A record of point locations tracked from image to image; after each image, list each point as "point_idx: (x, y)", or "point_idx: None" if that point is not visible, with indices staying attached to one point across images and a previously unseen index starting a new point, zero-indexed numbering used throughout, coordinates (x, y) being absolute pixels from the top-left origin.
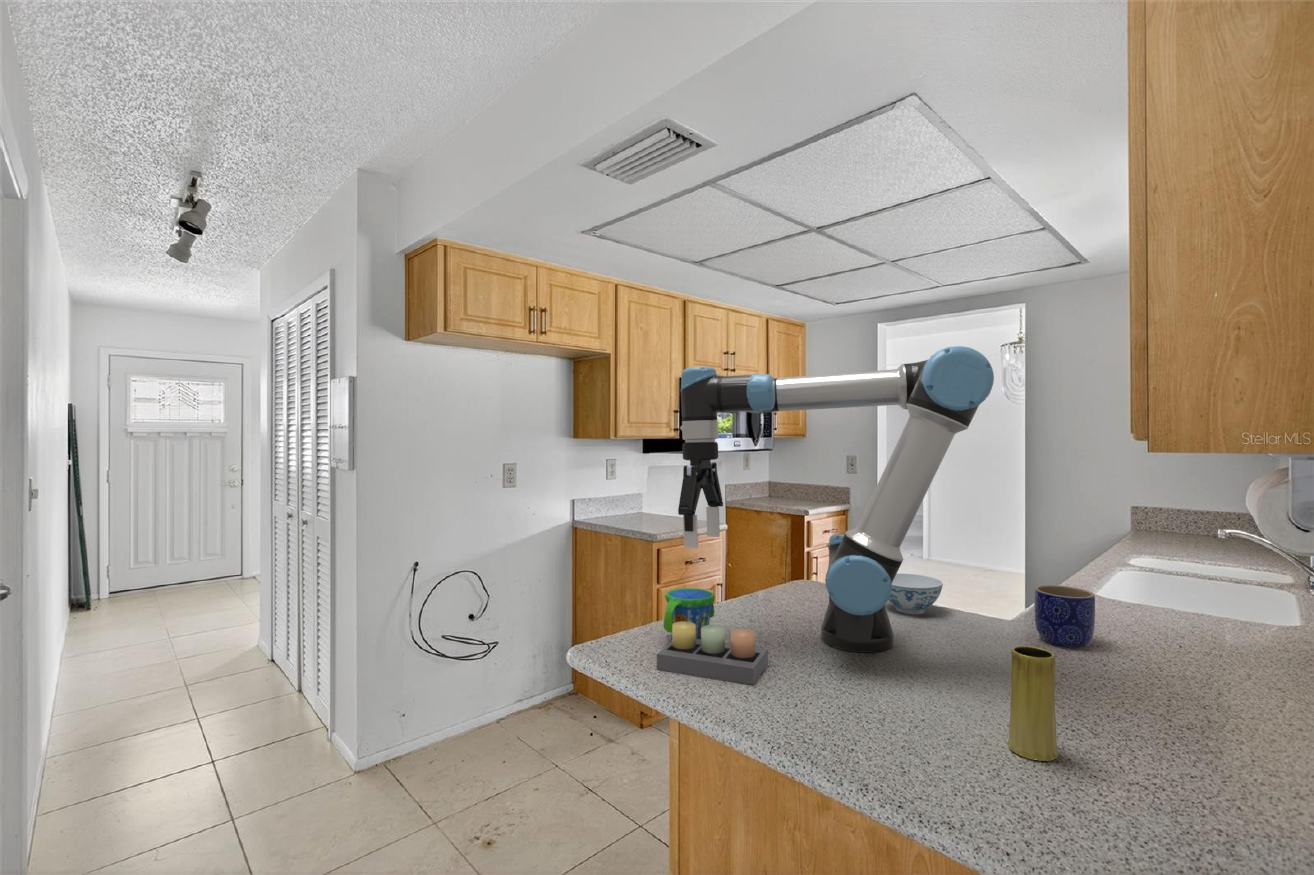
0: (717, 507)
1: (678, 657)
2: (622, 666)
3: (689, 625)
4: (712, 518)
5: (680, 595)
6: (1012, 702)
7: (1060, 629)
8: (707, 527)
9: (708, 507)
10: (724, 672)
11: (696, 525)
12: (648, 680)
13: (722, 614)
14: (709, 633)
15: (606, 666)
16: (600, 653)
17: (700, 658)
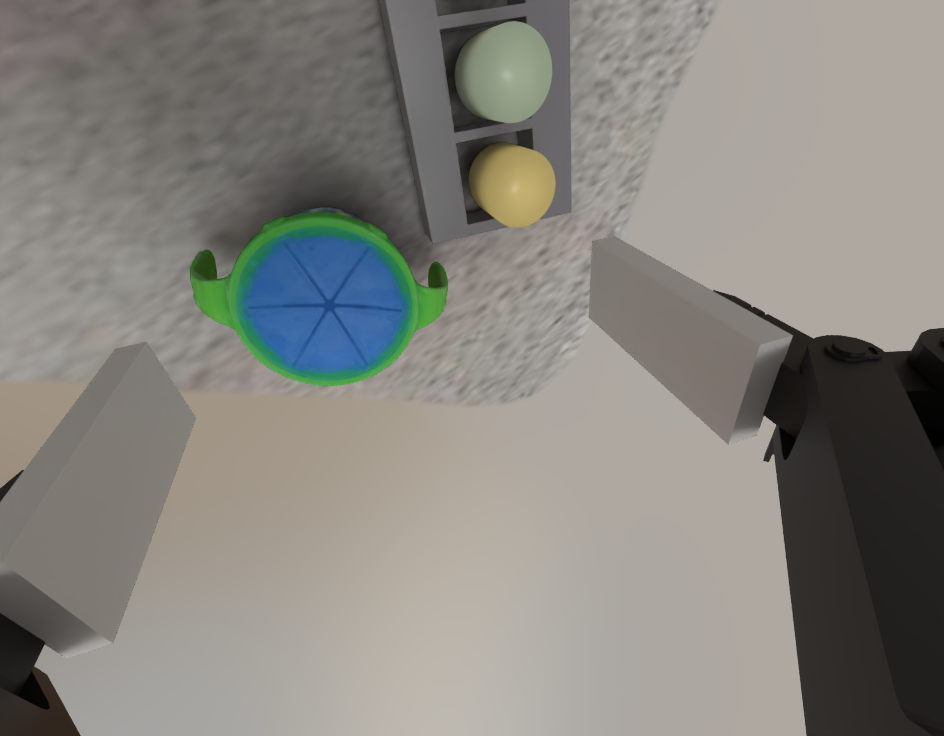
0: (6, 564)
1: (570, 147)
2: (567, 277)
3: (517, 171)
4: (119, 490)
5: (341, 338)
6: None
7: None
8: (176, 460)
9: (95, 627)
10: None
11: (707, 295)
12: (613, 182)
13: (20, 313)
14: (550, 66)
15: (580, 302)
16: (526, 357)
17: (556, 82)
